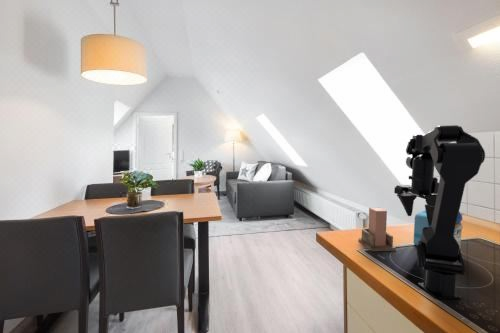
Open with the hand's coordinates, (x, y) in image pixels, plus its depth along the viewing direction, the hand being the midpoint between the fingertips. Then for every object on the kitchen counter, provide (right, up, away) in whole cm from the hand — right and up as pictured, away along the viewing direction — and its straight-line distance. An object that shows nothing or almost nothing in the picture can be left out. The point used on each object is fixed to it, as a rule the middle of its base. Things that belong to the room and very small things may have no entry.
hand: (419, 220), depth 82 cm
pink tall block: (-8, -11, +12) cm, 18 cm away
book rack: (-8, -12, +13) cm, 19 cm away
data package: (+12, -12, +14) cm, 22 cm away
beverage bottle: (+12, -13, +5) cm, 19 cm away
